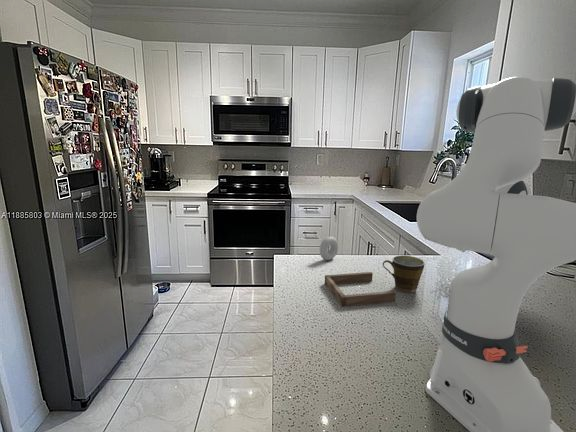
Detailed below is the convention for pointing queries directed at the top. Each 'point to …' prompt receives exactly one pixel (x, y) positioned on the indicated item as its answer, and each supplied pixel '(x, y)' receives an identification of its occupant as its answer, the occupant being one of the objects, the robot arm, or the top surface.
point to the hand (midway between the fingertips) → (459, 249)
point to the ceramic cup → (406, 272)
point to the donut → (324, 248)
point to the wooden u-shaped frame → (356, 298)
